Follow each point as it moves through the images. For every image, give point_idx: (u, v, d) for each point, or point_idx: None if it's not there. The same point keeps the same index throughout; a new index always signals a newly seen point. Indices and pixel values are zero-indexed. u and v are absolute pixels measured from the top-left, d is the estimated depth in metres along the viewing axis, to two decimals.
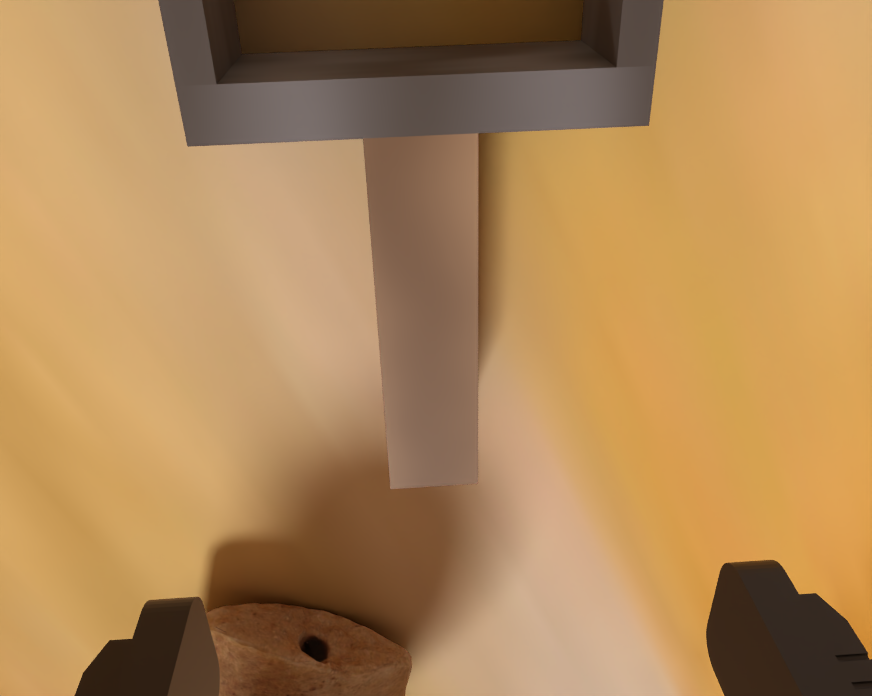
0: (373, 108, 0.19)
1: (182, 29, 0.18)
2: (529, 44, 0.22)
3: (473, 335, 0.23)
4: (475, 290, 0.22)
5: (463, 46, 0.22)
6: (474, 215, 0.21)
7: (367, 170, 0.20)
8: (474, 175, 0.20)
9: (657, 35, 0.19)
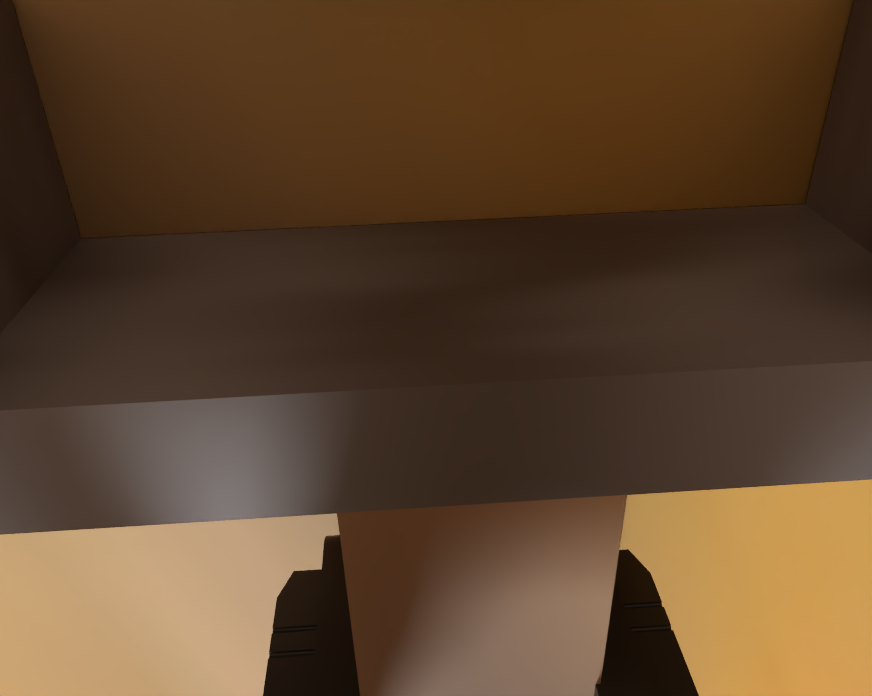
0: (362, 453, 0.07)
1: None
2: (701, 218, 0.10)
3: None
4: None
5: (559, 222, 0.10)
6: (598, 638, 0.09)
7: (348, 571, 0.08)
8: (606, 570, 0.08)
9: None
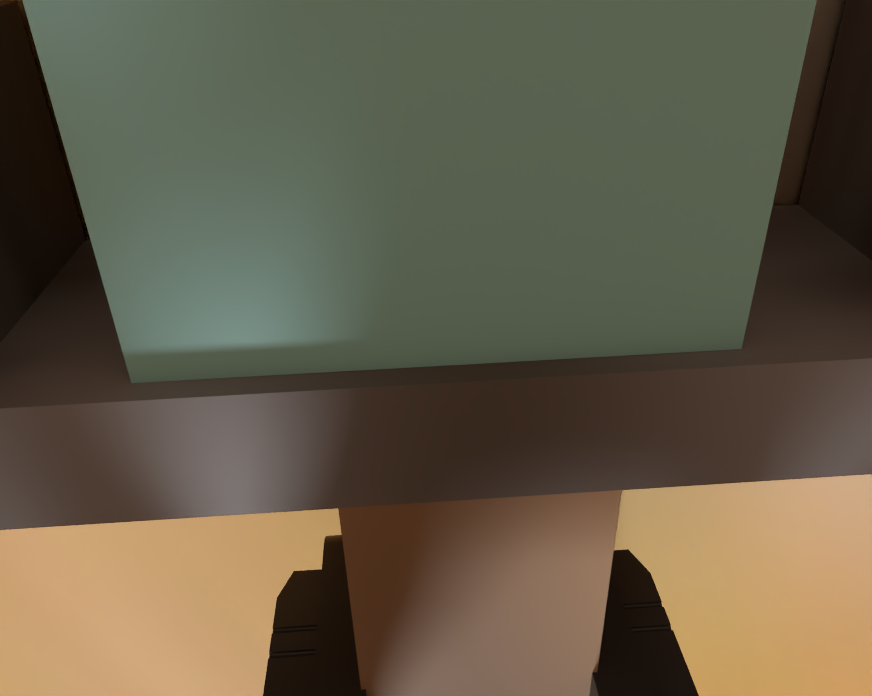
0: (363, 450, 0.08)
1: None
2: None
3: None
4: None
5: None
6: (594, 631, 0.09)
7: (350, 565, 0.08)
8: (602, 564, 0.09)
9: None
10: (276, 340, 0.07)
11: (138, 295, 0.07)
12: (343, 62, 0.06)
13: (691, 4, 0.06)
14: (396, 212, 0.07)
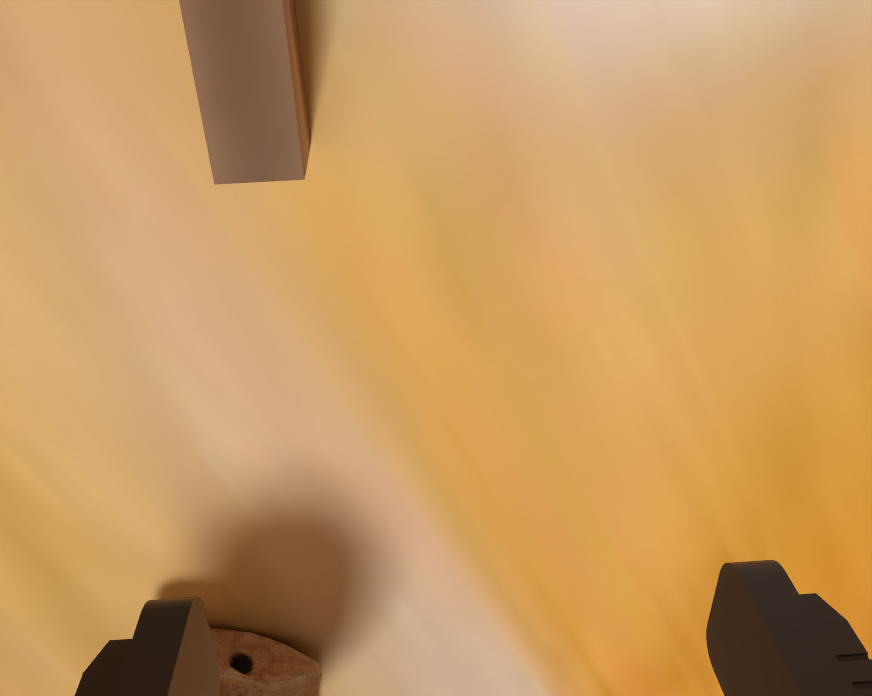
0: None
1: None
2: None
3: None
4: None
5: None
6: None
7: None
8: None
9: None
10: None
11: None
12: None
13: None
14: None
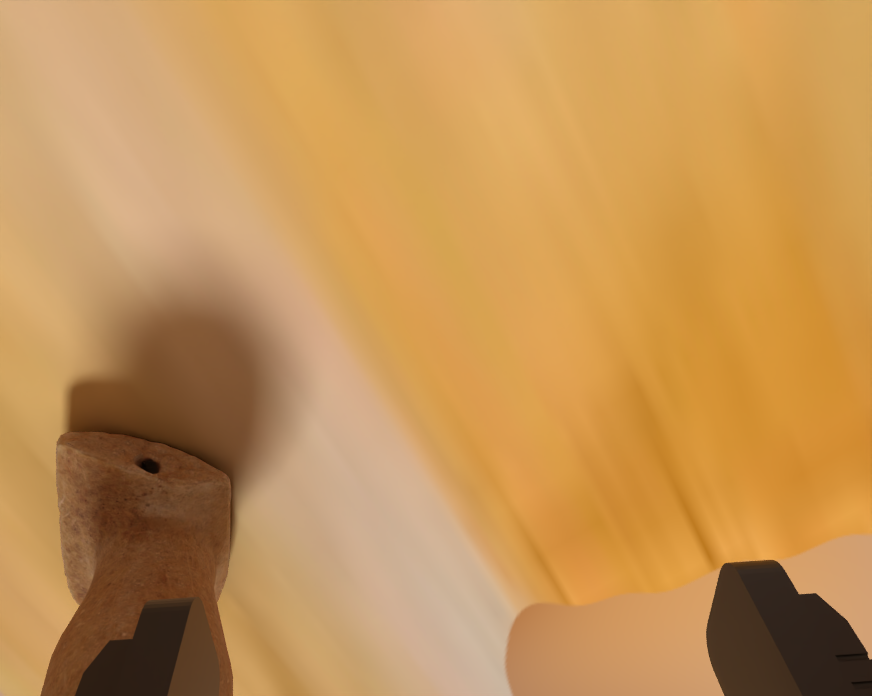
0: None
1: None
2: None
3: None
4: None
5: None
6: None
7: None
8: None
9: None
10: None
11: None
12: None
13: None
14: None
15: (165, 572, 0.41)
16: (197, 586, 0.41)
